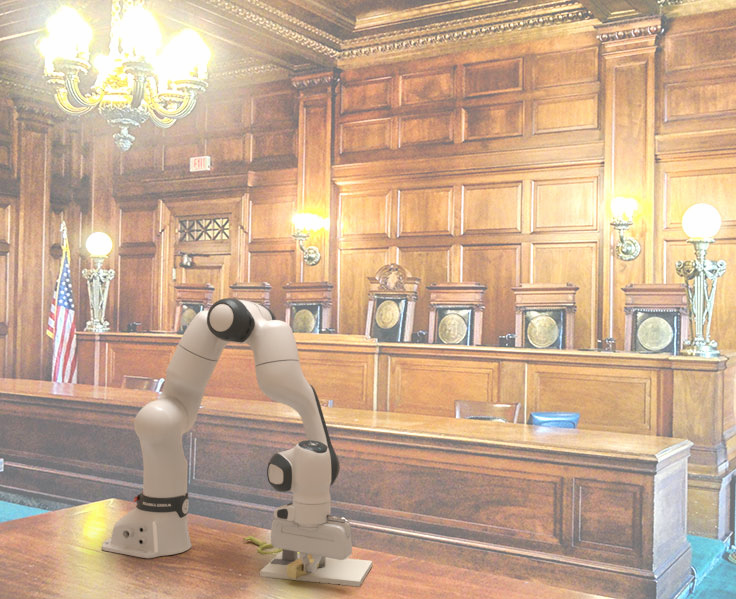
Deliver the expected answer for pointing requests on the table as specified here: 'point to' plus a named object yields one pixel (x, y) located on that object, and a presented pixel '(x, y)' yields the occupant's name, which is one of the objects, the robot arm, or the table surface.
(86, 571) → the table surface
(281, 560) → the lock plate
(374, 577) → the table surface
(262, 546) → the key
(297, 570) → the swing arm
